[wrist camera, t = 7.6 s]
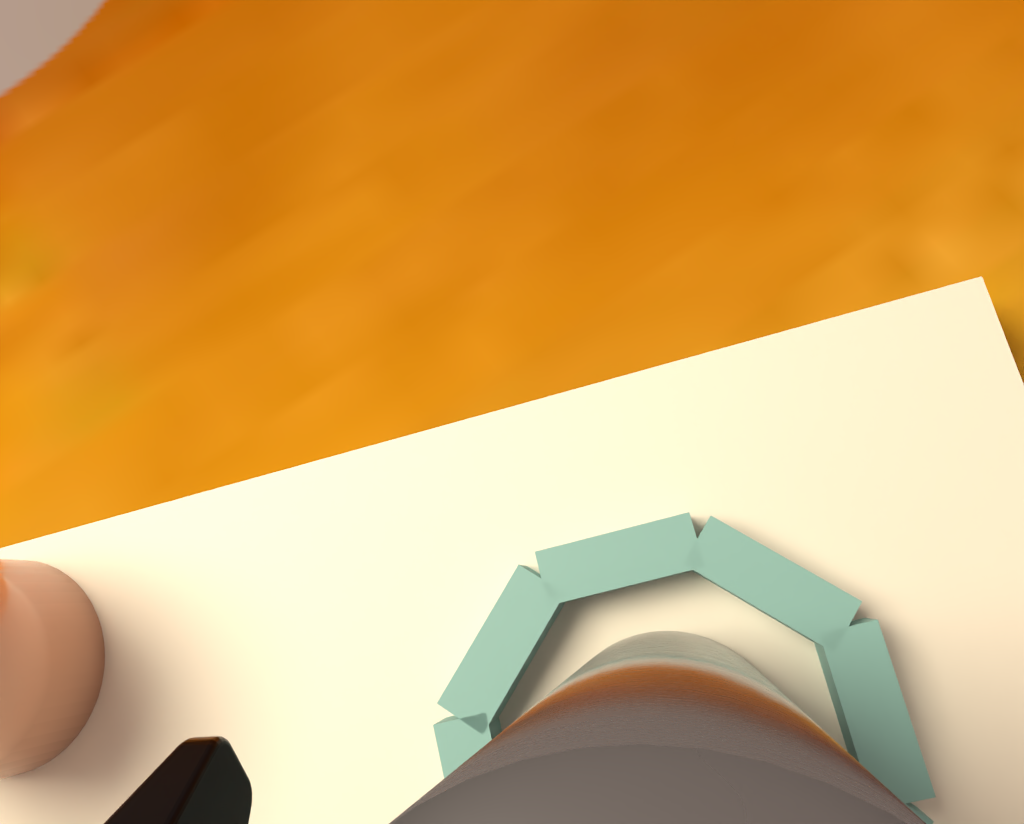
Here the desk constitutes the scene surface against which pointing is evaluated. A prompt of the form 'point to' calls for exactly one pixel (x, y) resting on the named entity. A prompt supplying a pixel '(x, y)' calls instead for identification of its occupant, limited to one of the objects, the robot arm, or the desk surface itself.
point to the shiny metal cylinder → (662, 751)
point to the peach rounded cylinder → (44, 663)
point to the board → (588, 576)
